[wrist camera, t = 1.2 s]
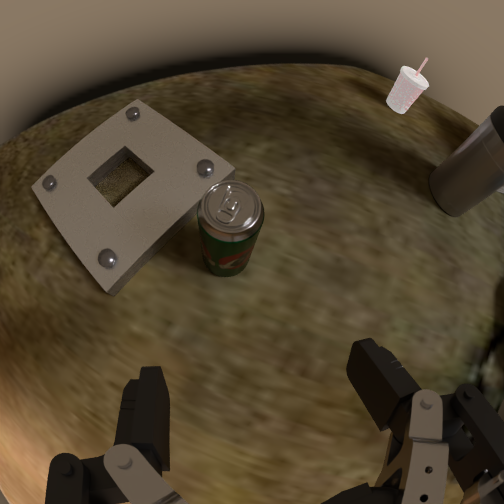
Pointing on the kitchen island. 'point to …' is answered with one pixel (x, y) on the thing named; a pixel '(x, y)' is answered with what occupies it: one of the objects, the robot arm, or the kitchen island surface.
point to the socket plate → (135, 203)
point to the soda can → (229, 226)
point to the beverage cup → (407, 89)
